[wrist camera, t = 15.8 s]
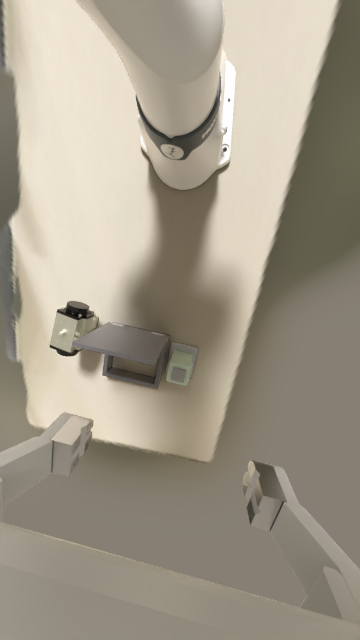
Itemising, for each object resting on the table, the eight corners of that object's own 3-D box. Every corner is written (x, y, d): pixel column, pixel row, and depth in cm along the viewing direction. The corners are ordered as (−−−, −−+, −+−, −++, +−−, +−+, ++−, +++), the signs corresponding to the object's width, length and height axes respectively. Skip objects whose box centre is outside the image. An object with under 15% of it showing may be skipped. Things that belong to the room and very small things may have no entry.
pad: (171, 341, 50) (171, 342, 50) (198, 347, 50) (198, 348, 49) (165, 372, 52) (165, 372, 52) (190, 378, 52) (190, 379, 52)
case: (113, 318, 50) (72, 340, 34) (170, 331, 50) (155, 360, 33) (107, 369, 54) (67, 412, 38) (159, 382, 53) (141, 431, 37)
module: (173, 349, 50) (169, 363, 43) (192, 354, 50) (191, 368, 43) (170, 366, 51) (165, 382, 44) (188, 371, 51) (186, 387, 44)
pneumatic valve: (78, 336, 53) (44, 354, 41) (88, 296, 50) (54, 303, 38) (97, 344, 52) (68, 364, 41) (108, 304, 50) (80, 314, 38)
